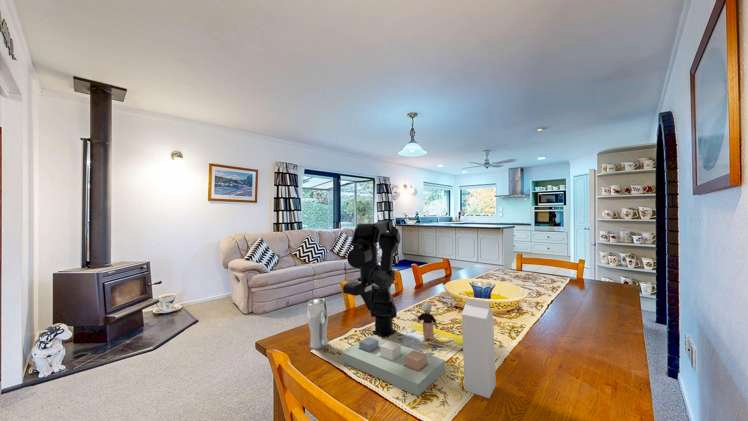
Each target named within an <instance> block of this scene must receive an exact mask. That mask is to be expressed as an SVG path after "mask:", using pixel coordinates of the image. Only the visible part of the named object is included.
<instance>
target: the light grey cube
mask: <svg viewBox="0 0 748 421" xmlns="http://www.w3.org/2000/svg"><path fill="white" fill-rule="evenodd" d="M387 341H388V342H386V343H384V344H383V345H381V346H380V349H381V358H384V359H386V360H389V361H391V362H393V361H395V360H396V359H398V358H399V357H401V346H402V345H401V343H398V342H394V341H391V340H387Z"/></svg>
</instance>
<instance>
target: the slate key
mask: <svg viewBox="0 0 748 421" xmlns="http://www.w3.org/2000/svg"><path fill="white" fill-rule="evenodd" d="M358 343H359V349H360V350H363V351H366V352H368V353H371V352H372V351H374V350H376V349H377V348H379V345H378V340H376V339H373V338H370V336H367V337H365V338H363V339H361V340H359V342H358Z"/></svg>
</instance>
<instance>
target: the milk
mask: <svg viewBox="0 0 748 421" xmlns="http://www.w3.org/2000/svg"><path fill="white" fill-rule="evenodd" d="M464 302H465V305H464V307H463V310H462V313H461V332H462V356H463V359H462V360H463V385H464V388H463V389H464V391H467V392H468V393H472V394H474V395H478V396H481V397H483V398H487V399H490V398H491V396H492V394H493V393H494V391H495V388H496V386H497V385H496V384H497V383H496V360H495V359H496V358H495V357H496V355H495V354H496V353H495V328H494V327H495V326H494V310H492V308H490V306H491V305H490V302H489V301H486V300H480V299H474V298H473V299H472V298H465V301H464Z"/></svg>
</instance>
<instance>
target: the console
mask: <svg viewBox="0 0 748 421" xmlns="http://www.w3.org/2000/svg"><path fill="white" fill-rule="evenodd" d="M369 337H370V338H373V339H376V340H378V345H379V348H377V349H376V350H374V351H372V352H371V353H368V352H366V351H363V350H360V349H359V342H357V343H355V344H354V345H351V346H349V347H348V348H346V349H344V350H342V351H341V352H340V355H341V357H340V358H341V362H342V363H343V362H344V363H343V364H346V365H348V366H350V367H353V368H355V369H357V370H360V371H361V372H364V373H365V374H368V375H371V376H373V377H374V378H377V379H378V380H381V381H384V382H386V383H388V384H390V385H392V386H394V387H397V388H399V389H402V390H403V391H406V392H408V393H410V394H412V395H414V396H417V397H419V396H420V395H422V393H423V392H425V391H426V390H427V389H428V388H429V387H430V386H431V385H432V384H433V383H434V382H435V381H436V380H438V379H439V377H440V376H442V374H444V373H445V372H446V360H445V359H443V358H439V357H436V356H434V355H431V354H429V353H424V352H423V351H419V350H417V349H413V348H410V347H407V346H404V345H401V357H399V358H398V359H396V360H395V361H393V362H391V361H389V360H386V359H384V358H381V349H380V346H381V345H383V344H384V343H386V342H388V341H389V340H386V339H383V338H380V337H377V336H373V335H370V336H369ZM413 350H414V351H417V352H420V353H423V354H426V357H427V366H426V367H425V368H423V369H422V370H421V371H420V372H417V371H415V370H412V369H410V368H407V367H405V356H406V355H407V354H409V353H410V352H412V351H413Z"/></svg>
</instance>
